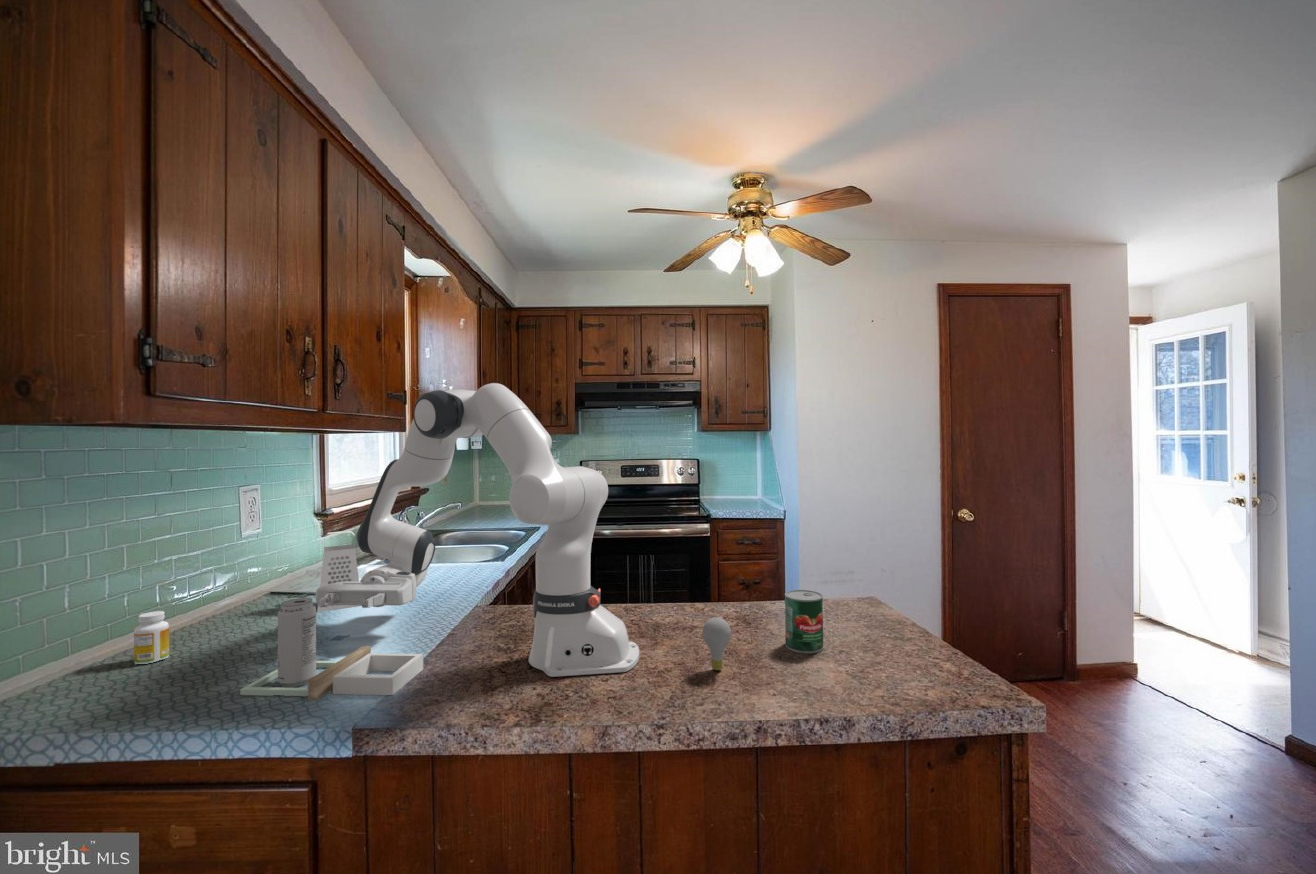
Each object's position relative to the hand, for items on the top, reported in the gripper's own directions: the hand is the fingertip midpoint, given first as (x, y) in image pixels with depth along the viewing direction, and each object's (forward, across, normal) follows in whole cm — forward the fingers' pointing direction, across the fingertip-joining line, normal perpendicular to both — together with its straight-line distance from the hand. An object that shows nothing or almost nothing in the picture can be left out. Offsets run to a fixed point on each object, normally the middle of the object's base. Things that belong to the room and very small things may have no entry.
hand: (343, 603), depth 117 cm
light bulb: (+6, +79, +11) cm, 80 cm away
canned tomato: (-7, +98, +10) cm, 98 cm away
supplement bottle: (+5, -38, +11) cm, 40 cm away
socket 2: (+13, +16, +10) cm, 23 cm away
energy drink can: (+14, 0, +11) cm, 17 cm away
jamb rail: (+13, +8, +10) cm, 18 cm away
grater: (-35, -24, +11) cm, 44 cm away
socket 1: (+13, 0, +10) cm, 17 cm away
